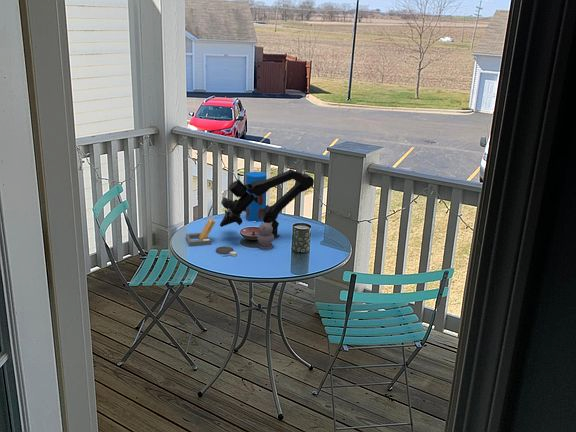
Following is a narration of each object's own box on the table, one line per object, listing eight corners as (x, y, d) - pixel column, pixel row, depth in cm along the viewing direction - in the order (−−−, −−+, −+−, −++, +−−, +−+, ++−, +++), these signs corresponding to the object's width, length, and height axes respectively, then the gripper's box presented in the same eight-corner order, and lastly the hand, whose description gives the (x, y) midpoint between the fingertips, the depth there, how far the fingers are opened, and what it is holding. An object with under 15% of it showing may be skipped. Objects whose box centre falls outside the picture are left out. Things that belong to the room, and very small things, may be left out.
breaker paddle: (201, 237, 270) (213, 218, 268) (204, 242, 264) (215, 222, 263) (198, 236, 269) (210, 216, 268) (200, 241, 264) (212, 220, 262)
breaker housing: (206, 237, 273) (206, 231, 272) (211, 246, 263) (210, 240, 262) (185, 239, 270) (185, 233, 269) (189, 248, 260) (189, 242, 259)
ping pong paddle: (241, 253, 256) (241, 250, 256) (229, 259, 250) (229, 256, 249) (223, 248, 262) (223, 245, 261) (212, 253, 256) (212, 250, 255)
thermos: (266, 216, 307) (267, 172, 298) (264, 222, 297) (265, 177, 288) (247, 214, 307) (247, 171, 299) (244, 221, 297) (244, 176, 289)
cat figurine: (263, 242, 271) (264, 219, 267) (277, 245, 267) (277, 222, 263) (253, 247, 264) (253, 224, 260) (267, 251, 260) (268, 227, 256)
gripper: (227, 186, 272) (205, 209, 272) (235, 198, 255) (212, 222, 256) (242, 201, 277) (221, 223, 277) (252, 213, 260) (228, 236, 261)
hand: (220, 226), depth 268 cm, fingers closed
